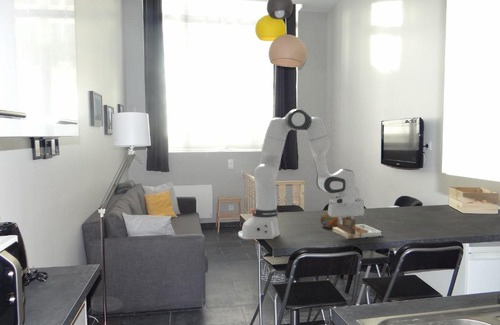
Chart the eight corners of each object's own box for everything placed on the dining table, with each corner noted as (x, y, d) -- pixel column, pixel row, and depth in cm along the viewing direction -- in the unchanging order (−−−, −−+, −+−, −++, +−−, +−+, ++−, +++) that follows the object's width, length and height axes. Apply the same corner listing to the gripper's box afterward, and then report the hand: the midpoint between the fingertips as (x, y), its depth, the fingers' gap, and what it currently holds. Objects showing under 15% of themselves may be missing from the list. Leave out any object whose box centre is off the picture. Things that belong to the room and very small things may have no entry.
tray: (362, 237, 185) (362, 233, 185) (344, 229, 203) (344, 225, 203) (382, 236, 188) (382, 231, 188) (363, 228, 206) (363, 224, 206)
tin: (321, 227, 208) (321, 213, 207) (319, 226, 211) (319, 212, 210) (345, 226, 211) (345, 212, 210) (343, 225, 214) (343, 211, 213)
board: (347, 238, 184) (347, 234, 184) (332, 231, 200) (332, 227, 200) (360, 237, 186) (361, 233, 186) (345, 230, 202) (345, 226, 202)
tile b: (359, 233, 187) (360, 228, 187) (354, 230, 192) (355, 226, 192) (367, 235, 188) (368, 230, 188) (362, 232, 193) (363, 228, 193)
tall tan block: (350, 233, 186) (350, 220, 186) (337, 227, 200) (337, 215, 199) (355, 233, 187) (355, 220, 186) (342, 227, 200) (342, 214, 200)
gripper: (360, 197, 198) (359, 221, 199) (326, 198, 193) (326, 223, 194) (366, 199, 192) (366, 224, 193) (332, 200, 187) (331, 226, 187)
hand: (345, 224), depth 193 cm, fingers closed on tall tan block, 3 cm apart
